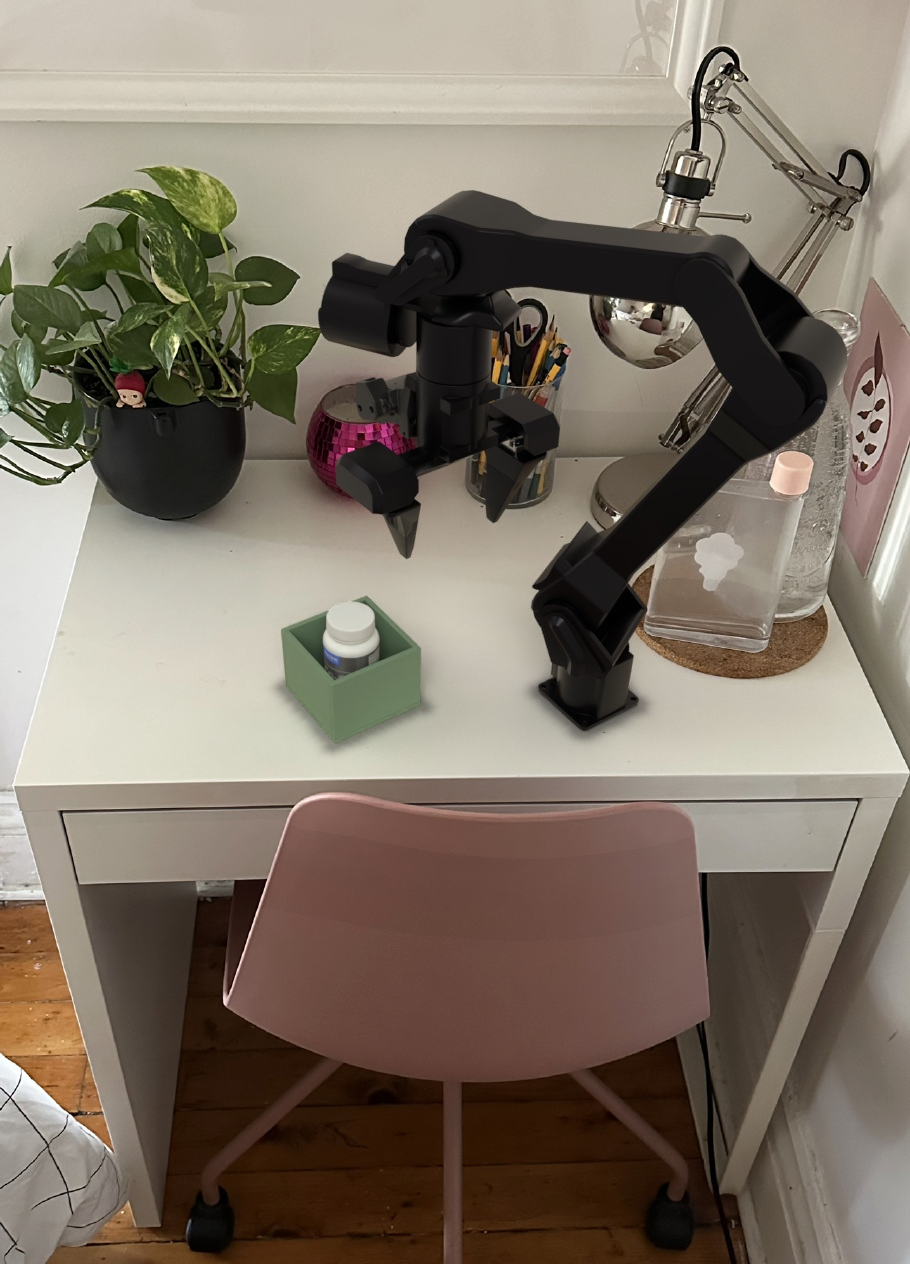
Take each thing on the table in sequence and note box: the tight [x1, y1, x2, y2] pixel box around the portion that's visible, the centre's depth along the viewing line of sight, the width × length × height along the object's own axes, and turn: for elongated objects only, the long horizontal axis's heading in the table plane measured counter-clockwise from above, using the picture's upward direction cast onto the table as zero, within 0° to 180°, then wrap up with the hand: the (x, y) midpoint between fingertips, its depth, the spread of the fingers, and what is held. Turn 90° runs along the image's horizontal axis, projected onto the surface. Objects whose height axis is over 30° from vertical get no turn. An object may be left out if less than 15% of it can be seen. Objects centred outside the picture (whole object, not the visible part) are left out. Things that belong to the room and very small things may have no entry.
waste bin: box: [280, 595, 422, 744], centre depth 97 cm, size 8×8×6 cm
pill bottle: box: [323, 601, 380, 680], centre depth 96 cm, size 5×5×8 cm
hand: (449, 537), depth 97 cm, fingers open, 9 cm apart
